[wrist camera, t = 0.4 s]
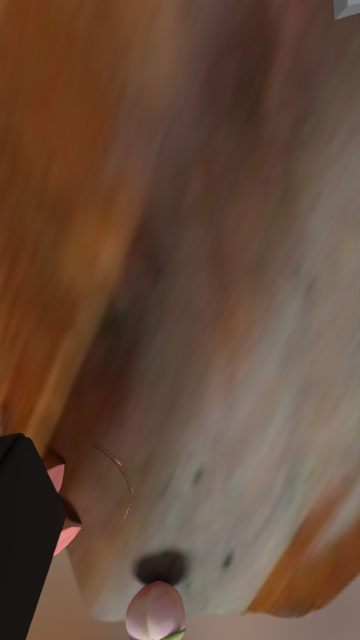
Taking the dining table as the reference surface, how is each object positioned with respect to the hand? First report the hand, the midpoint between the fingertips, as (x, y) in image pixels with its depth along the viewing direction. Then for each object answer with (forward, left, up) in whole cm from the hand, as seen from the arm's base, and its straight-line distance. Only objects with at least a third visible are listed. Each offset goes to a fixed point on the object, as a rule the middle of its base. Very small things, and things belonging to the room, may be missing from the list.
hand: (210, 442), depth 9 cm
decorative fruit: (+54, -17, -30) cm, 64 cm away
